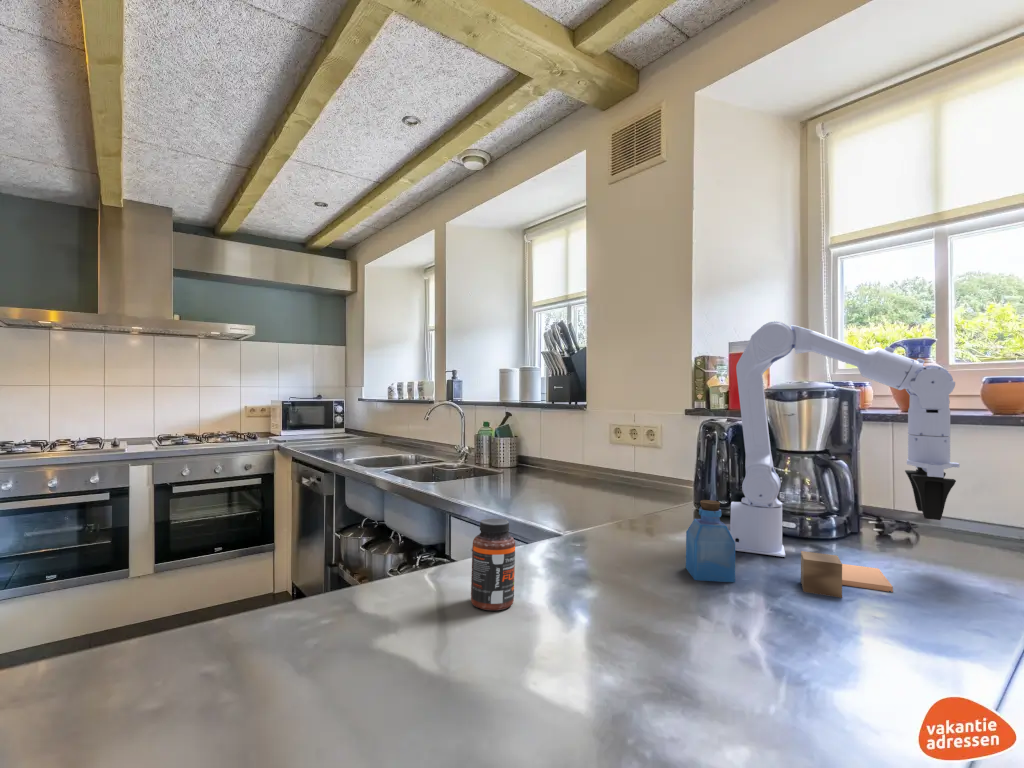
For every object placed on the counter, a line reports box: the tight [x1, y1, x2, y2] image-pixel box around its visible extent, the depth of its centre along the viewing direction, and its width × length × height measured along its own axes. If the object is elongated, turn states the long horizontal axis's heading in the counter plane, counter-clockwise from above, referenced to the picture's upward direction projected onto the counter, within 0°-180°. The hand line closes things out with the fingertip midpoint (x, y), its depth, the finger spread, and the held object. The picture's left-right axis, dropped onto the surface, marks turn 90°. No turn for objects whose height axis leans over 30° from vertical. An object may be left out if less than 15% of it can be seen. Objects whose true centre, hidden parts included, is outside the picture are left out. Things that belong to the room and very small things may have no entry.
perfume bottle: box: [685, 499, 736, 583], centre depth 87 cm, size 6×6×12 cm
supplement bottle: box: [470, 517, 516, 612], centre depth 72 cm, size 6×6×11 cm
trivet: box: [842, 563, 894, 593], centre depth 87 cm, size 10×10×1 cm
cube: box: [800, 550, 843, 599], centre depth 81 cm, size 5×5×5 cm
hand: (928, 515), depth 90 cm, fingers open, 7 cm apart
